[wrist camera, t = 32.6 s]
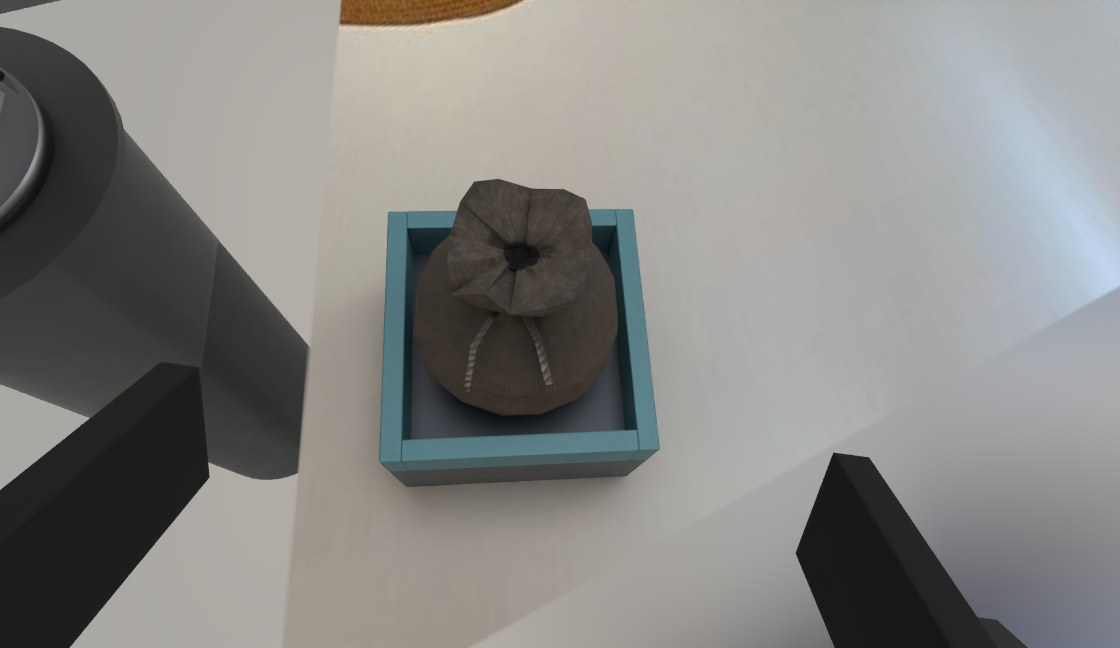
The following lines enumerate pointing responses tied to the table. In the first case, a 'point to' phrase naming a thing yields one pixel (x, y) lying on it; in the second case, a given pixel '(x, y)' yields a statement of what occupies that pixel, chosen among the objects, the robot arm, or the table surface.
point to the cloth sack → (517, 301)
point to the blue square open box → (522, 440)
